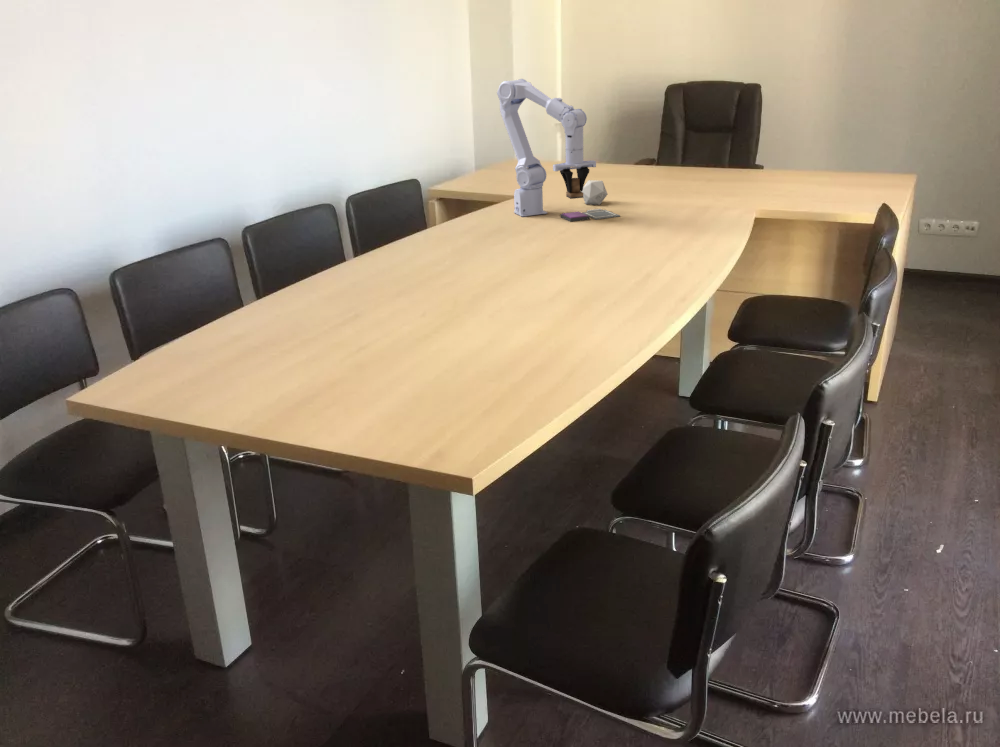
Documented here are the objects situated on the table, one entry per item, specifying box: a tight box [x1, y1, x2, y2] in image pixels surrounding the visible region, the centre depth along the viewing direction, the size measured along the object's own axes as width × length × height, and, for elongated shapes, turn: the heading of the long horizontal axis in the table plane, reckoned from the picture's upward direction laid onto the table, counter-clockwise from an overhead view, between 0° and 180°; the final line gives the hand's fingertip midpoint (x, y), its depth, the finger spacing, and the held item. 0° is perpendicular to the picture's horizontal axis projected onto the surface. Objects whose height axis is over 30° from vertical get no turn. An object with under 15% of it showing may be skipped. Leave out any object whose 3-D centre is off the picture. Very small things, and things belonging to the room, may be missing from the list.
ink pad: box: [559, 211, 591, 223], centre depth 279 cm, size 7×8×1 cm
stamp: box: [565, 177, 583, 200], centre depth 276 cm, size 4×4×6 cm
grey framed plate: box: [582, 208, 621, 220], centre depth 282 cm, size 9×11×1 cm
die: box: [581, 179, 608, 206], centre depth 299 cm, size 8×9×10 cm
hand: (574, 191), depth 276 cm, fingers closed on stamp, 3 cm apart
